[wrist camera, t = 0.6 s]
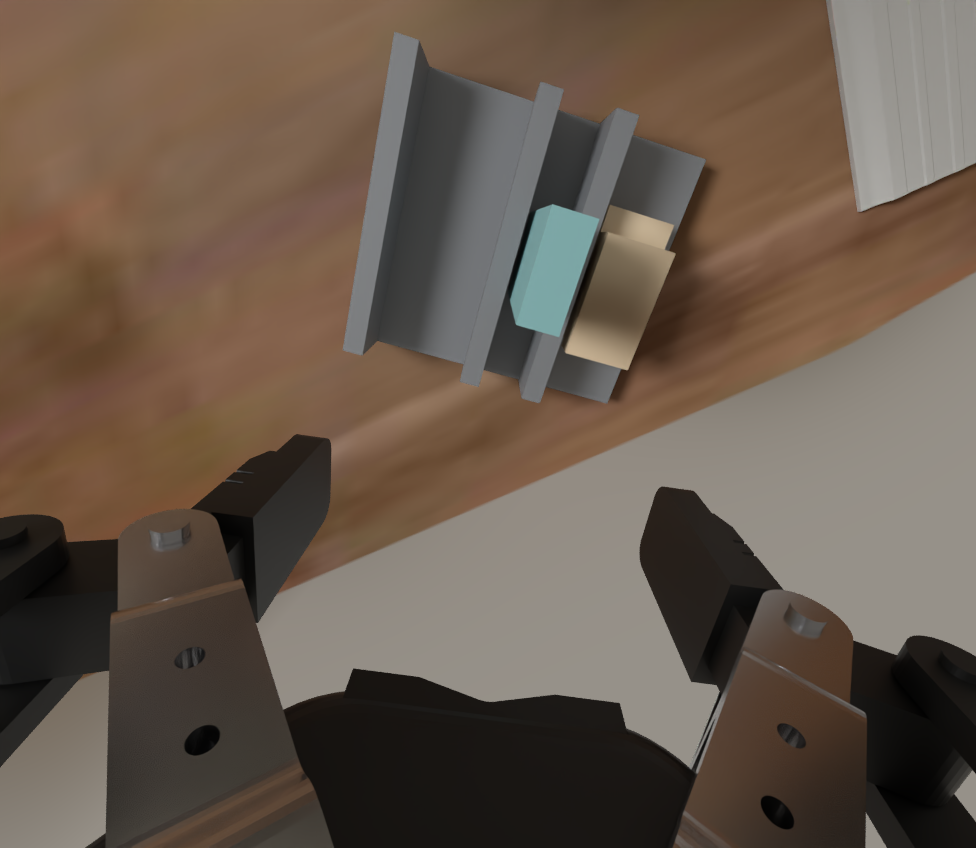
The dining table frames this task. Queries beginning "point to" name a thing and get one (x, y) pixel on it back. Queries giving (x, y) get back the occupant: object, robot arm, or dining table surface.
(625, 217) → the block
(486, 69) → the dining table surface
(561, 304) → the teal slat
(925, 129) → the baseboard molding
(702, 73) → the dining table surface
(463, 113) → the rack
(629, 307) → the offcut top
